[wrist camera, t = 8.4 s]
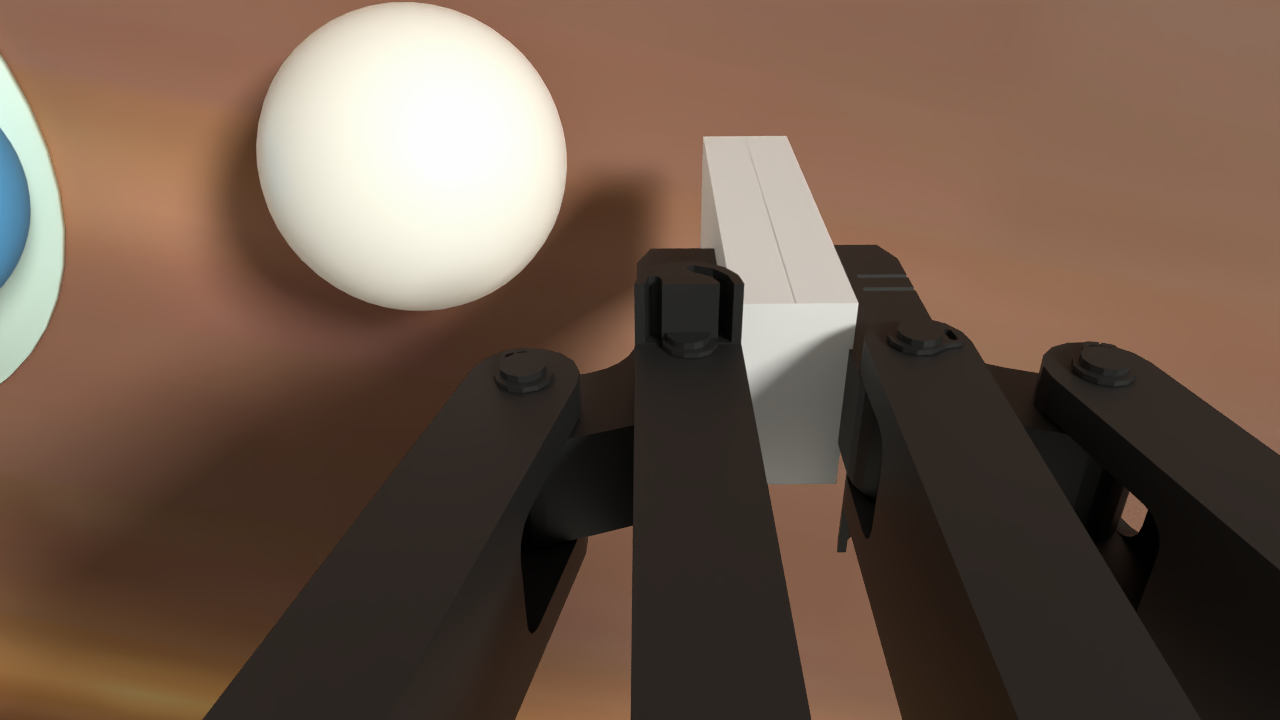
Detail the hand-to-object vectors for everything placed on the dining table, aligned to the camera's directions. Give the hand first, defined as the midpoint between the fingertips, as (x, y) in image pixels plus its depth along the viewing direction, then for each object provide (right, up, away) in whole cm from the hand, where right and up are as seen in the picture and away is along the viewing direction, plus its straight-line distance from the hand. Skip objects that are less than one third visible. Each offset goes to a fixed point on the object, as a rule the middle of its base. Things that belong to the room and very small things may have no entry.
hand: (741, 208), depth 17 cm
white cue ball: (-6, +1, 0) cm, 6 cm away
